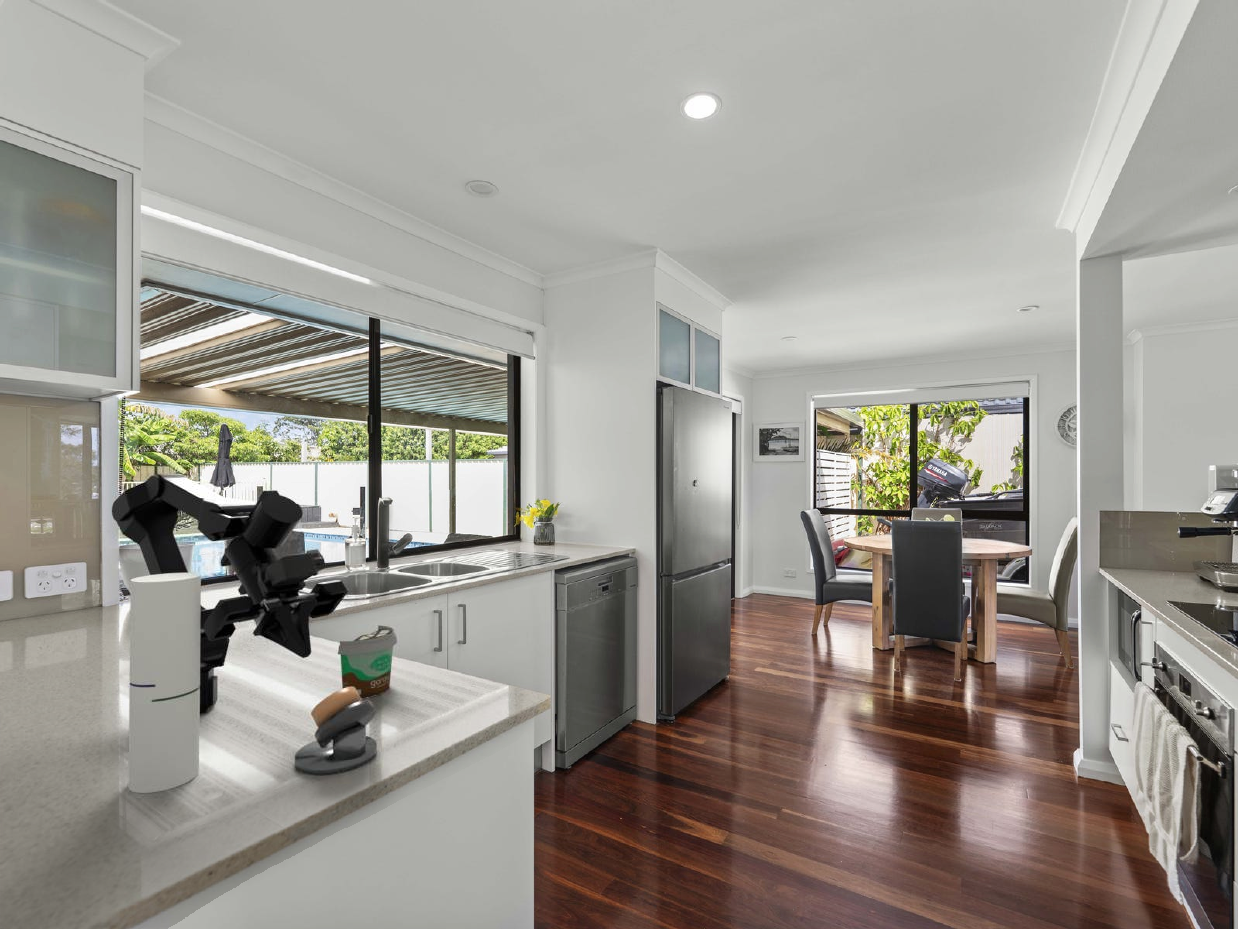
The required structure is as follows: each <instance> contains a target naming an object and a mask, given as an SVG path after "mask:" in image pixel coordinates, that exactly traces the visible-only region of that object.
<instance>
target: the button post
mask: <svg viewBox="0 0 1238 929" xmlns="http://www.w3.org/2000/svg"><path fill="white" fill-rule="evenodd" d="M376 714H377V710H376V708H375V706H374V705H373V703H372V702H371V700H370V699H362V700H361V701H358V702H356V703H353V704H351V705H349V706H347V707H345V708H344V709H342V710H340V711H339V712H337V713H336V714H334V715H333V716H331V717H330V718H329V719H328V720H326V721H325V722H324V723H323V724H322V725H321V726H320V727H319V728H318V727H317V729H316V731H315V733H314V737H315V739H316V740H314V741H312V742H309V743H307V744H306V745H304V746H302V747H301V748H300V749H299V750H297V751H296V753H295V755H294V767H295V769H296V770H297V772H300V773H302V774H306V775H309V776H310V775H312V776H328V775H335V774H336V775H337V774H340V773H345V772H350V771H353V770H355V769H358V768H360V767H362V766H364V765H367V764H368V763H369V762H370V761H372V760H373V759H374V758H375V756H376V755H377V749H378V748H377V741H376V739H374V738H373V737H371V736H368V735H367V727H366V726H367V725H368V724H369V723H370V722H371V721H372V720H373V719H374V718H375V716H376Z"/></svg>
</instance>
